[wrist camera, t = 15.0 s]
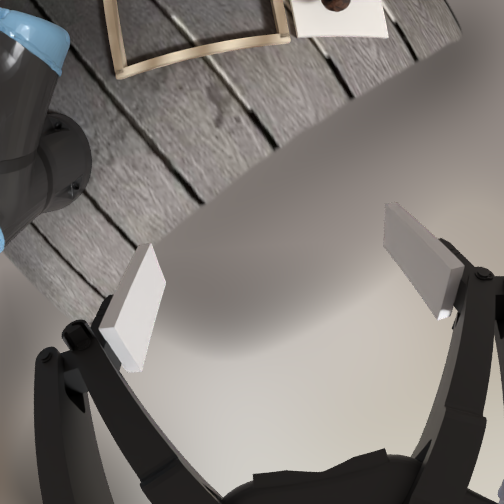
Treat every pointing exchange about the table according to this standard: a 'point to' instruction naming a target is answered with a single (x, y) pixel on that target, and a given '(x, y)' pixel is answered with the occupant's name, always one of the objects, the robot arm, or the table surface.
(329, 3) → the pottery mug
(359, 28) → the ceramic tile
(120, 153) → the table surface
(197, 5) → the table surface
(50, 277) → the table surface
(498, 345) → the robot arm
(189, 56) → the frame
